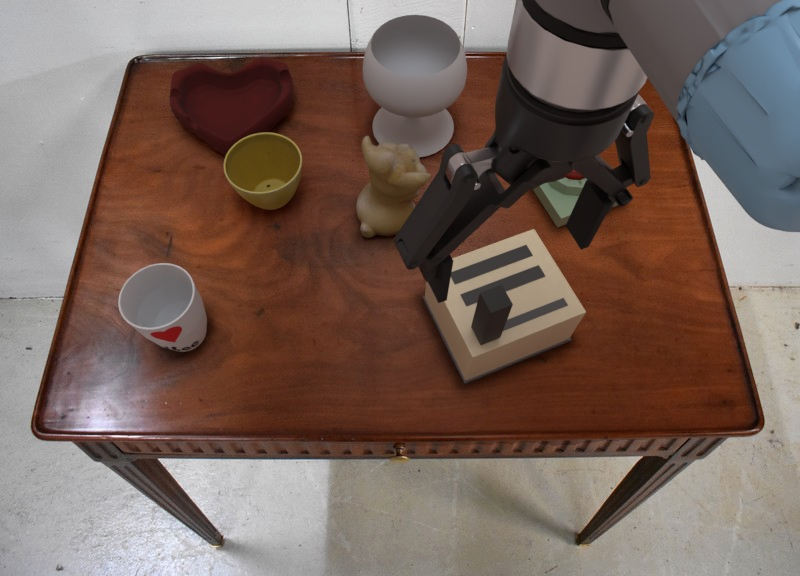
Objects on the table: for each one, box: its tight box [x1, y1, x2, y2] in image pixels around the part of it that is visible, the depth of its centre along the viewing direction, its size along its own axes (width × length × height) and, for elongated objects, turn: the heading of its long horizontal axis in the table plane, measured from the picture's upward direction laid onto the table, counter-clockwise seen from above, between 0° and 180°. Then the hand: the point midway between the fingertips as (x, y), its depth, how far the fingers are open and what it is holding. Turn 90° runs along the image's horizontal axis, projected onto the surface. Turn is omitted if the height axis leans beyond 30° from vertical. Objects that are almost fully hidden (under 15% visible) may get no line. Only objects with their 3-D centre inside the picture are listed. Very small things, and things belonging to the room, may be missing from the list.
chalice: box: [362, 14, 468, 158], centre depth 82 cm, size 14×14×15 cm
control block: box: [532, 177, 619, 228], centre depth 82 cm, size 12×10×4 cm
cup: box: [117, 262, 208, 353], centre depth 69 cm, size 8×8×10 cm
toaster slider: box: [471, 285, 513, 345], centre depth 61 cm, size 2×2×8 cm
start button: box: [565, 170, 585, 180], centre depth 80 cm, size 4×4×2 cm
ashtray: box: [169, 56, 295, 157], centre depth 87 cm, size 18×16×5 cm
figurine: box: [355, 135, 432, 239], centre depth 74 cm, size 10×8×15 cm
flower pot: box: [223, 131, 303, 211], centre depth 80 cm, size 10×10×7 cm
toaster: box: [422, 228, 587, 385], centre depth 70 cm, size 12×14×8 cm
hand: (508, 262), depth 51 cm, fingers open, 13 cm apart
